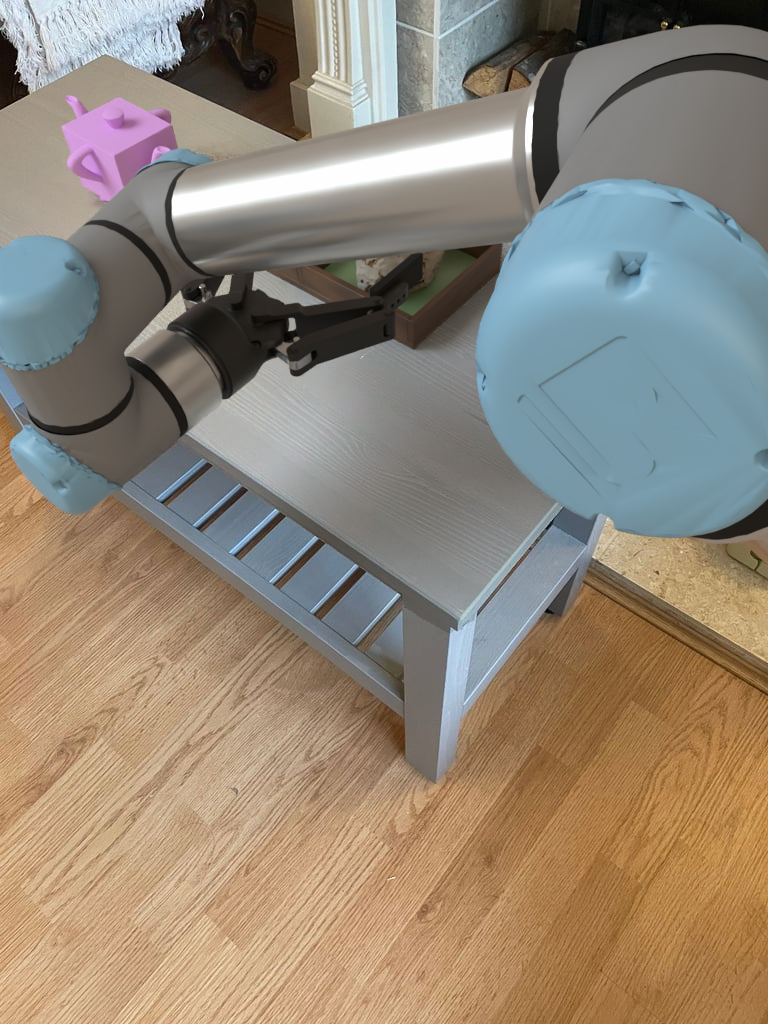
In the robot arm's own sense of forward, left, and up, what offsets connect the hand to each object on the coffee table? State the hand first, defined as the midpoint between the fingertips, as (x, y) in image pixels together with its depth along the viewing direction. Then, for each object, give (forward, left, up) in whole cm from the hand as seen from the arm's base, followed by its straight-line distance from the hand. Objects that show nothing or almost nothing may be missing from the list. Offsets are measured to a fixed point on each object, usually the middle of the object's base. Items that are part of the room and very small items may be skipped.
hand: (361, 236), depth 75 cm
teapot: (+41, -12, -15) cm, 45 cm away
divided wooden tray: (+10, -14, -15) cm, 23 cm away
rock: (+1, -12, -14) cm, 18 cm away
